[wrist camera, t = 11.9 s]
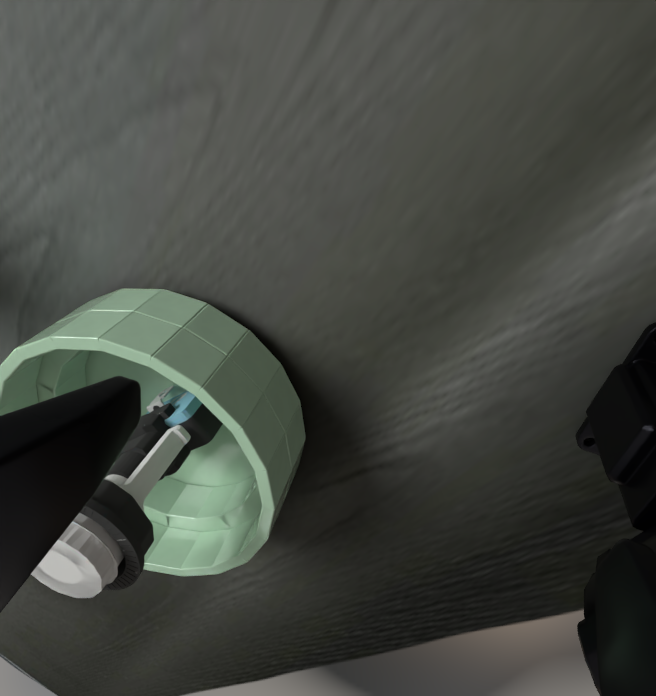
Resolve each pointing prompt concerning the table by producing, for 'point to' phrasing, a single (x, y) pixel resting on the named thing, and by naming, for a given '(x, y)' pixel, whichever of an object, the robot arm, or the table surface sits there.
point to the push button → (126, 501)
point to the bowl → (185, 375)
